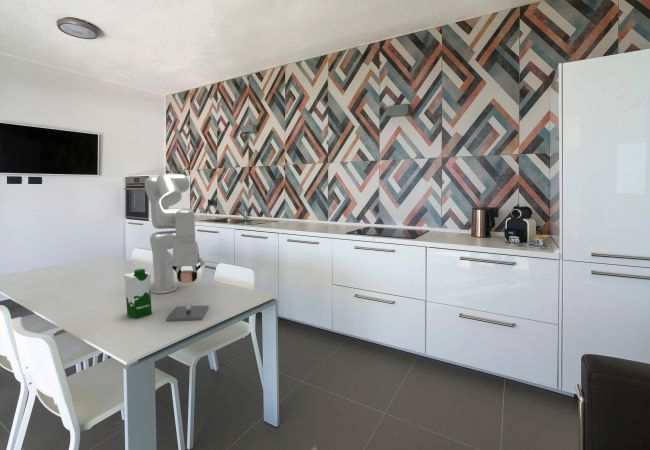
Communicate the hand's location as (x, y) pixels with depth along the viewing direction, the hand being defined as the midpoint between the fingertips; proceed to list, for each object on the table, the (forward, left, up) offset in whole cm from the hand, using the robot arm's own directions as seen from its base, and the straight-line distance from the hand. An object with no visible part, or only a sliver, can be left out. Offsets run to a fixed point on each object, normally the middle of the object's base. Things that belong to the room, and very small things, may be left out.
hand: (187, 280), depth 144 cm
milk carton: (-21, +2, -15) cm, 26 cm away
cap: (0, 0, -1) cm, 1 cm away
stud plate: (0, 0, -15) cm, 15 cm away
